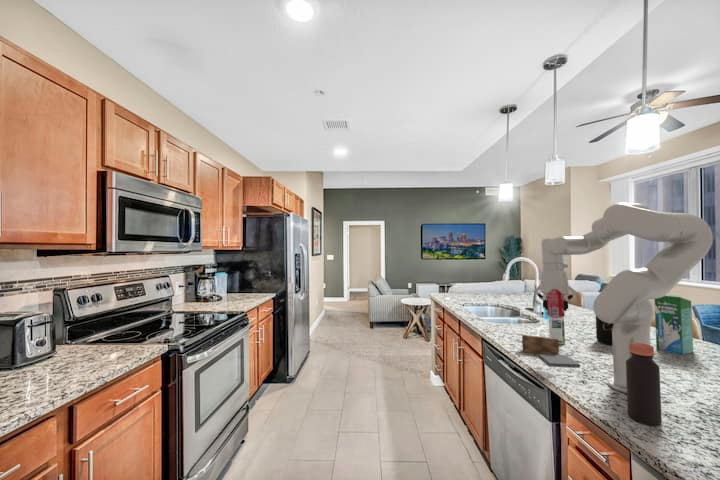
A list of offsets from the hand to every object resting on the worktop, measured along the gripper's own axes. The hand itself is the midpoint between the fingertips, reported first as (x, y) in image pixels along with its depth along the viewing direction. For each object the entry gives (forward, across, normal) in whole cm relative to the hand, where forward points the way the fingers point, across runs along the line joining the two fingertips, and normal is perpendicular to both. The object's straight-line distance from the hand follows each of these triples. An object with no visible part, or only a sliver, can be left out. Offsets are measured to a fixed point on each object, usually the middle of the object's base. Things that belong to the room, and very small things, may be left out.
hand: (555, 309), depth 130 cm
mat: (+21, 0, +1) cm, 21 cm away
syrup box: (+21, -1, -29) cm, 36 cm away
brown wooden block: (+21, +6, -8) cm, 23 cm away
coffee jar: (+21, -24, -40) cm, 51 cm away
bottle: (+22, -17, +42) cm, 50 cm away
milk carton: (+21, -47, -39) cm, 64 cm away
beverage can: (+3, 0, 0) cm, 3 cm away
